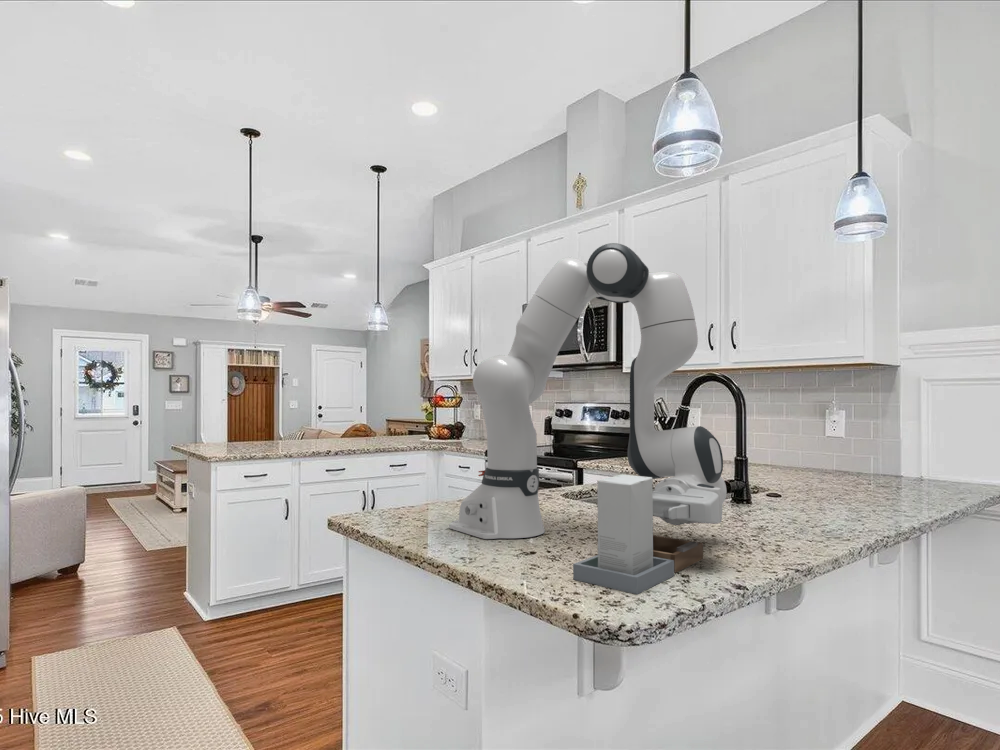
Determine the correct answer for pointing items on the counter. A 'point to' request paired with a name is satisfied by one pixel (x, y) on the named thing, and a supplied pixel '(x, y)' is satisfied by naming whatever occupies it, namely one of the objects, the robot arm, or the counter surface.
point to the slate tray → (623, 575)
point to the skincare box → (625, 524)
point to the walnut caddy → (677, 551)
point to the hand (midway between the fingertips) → (641, 510)
